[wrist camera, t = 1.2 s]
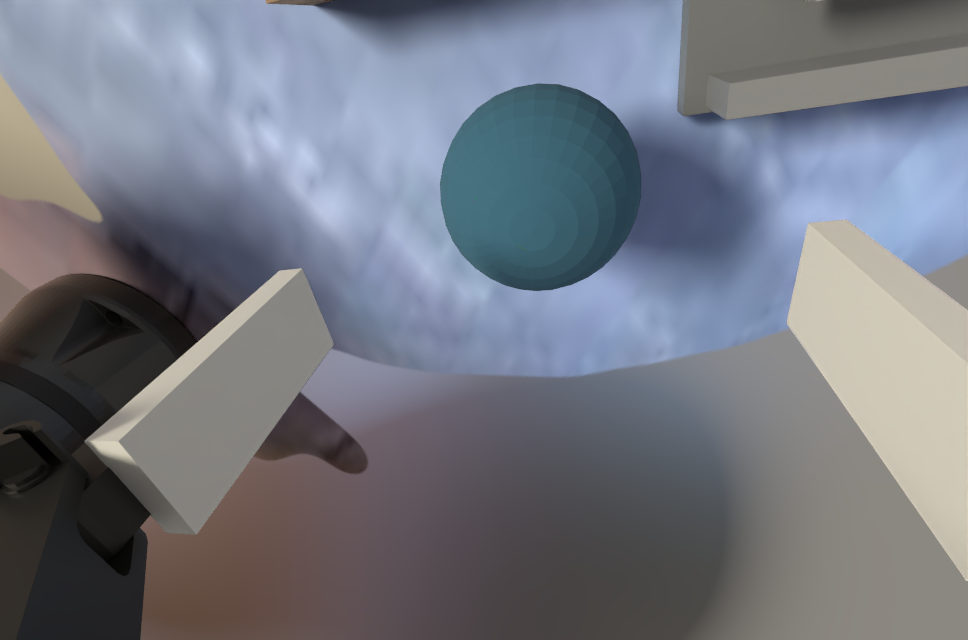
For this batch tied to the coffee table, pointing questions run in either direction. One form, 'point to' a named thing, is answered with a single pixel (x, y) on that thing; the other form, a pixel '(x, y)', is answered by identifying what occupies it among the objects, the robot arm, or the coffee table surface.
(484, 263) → the light bulb
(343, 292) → the coffee table surface
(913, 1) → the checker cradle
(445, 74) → the coffee table surface
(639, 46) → the coffee table surface
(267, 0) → the tray
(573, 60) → the coffee table surface
